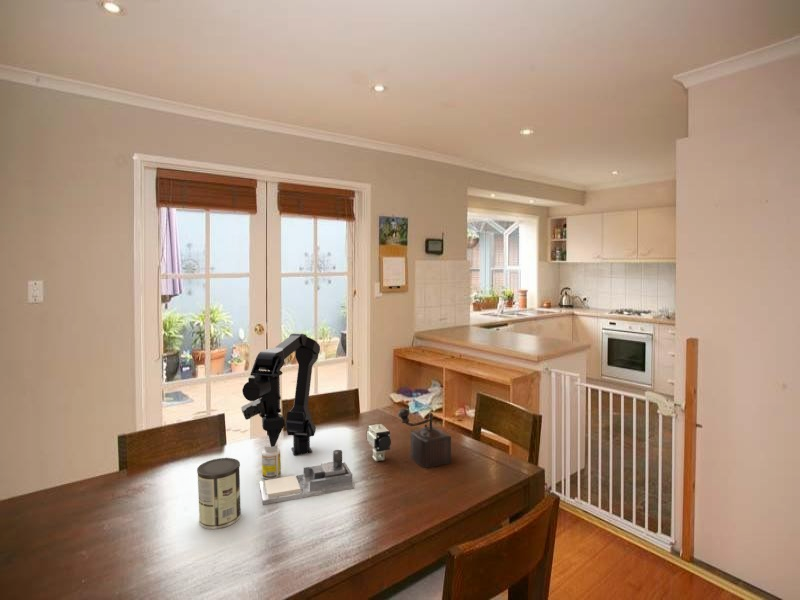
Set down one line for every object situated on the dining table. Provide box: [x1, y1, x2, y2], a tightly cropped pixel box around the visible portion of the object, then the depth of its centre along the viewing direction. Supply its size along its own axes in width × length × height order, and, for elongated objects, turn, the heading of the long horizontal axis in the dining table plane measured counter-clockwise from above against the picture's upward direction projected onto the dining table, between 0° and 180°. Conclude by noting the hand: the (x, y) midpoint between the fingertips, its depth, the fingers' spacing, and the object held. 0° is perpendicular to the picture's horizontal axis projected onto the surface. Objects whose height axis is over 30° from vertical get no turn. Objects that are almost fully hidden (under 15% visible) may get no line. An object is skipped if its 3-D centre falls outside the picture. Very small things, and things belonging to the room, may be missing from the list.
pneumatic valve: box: [365, 422, 392, 463], centre depth 156 cm, size 6×12×12 cm, turn 23°
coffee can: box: [196, 457, 242, 530], centre depth 119 cm, size 10×10×14 cm
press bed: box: [264, 474, 300, 497], centre depth 134 cm, size 9×9×1 cm
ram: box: [312, 449, 345, 480], centre depth 138 cm, size 7×9×8 cm
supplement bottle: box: [261, 441, 282, 480], centre depth 143 cm, size 6×6×10 cm
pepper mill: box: [397, 407, 452, 469], centre depth 154 cm, size 16×11×18 cm
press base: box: [259, 461, 355, 505], centre depth 136 cm, size 12×26×4 cm, turn 111°
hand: (271, 441), depth 143 cm, fingers open, 9 cm apart
